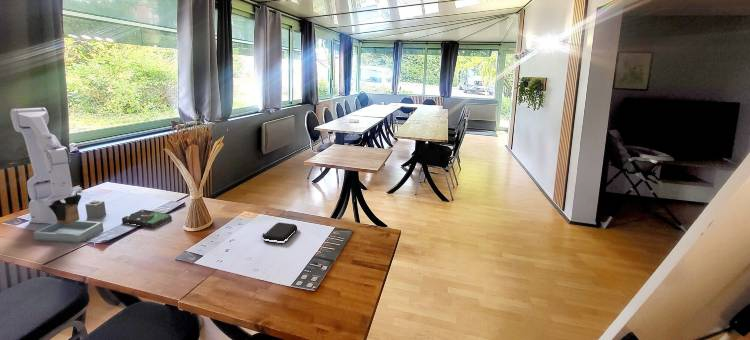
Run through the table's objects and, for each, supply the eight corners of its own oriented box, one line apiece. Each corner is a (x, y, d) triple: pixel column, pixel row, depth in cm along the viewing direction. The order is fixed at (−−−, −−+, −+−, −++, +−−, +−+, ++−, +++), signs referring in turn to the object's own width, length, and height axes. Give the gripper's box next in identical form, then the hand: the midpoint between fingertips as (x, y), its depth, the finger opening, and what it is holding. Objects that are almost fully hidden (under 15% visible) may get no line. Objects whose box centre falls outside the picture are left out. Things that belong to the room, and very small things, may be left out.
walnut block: (57, 223, 139) (54, 207, 137) (67, 218, 143) (65, 203, 142) (69, 224, 139) (66, 208, 137) (79, 219, 143) (76, 203, 141)
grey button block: (87, 218, 157) (85, 204, 155) (95, 213, 161) (93, 200, 159) (98, 218, 157) (96, 204, 155) (106, 214, 161) (104, 201, 159)
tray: (34, 240, 137) (33, 232, 136) (62, 226, 148) (61, 219, 148) (78, 243, 136) (77, 235, 136) (103, 229, 148) (102, 222, 147)
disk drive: (122, 224, 154) (153, 229, 151) (121, 218, 153) (152, 223, 150) (142, 215, 164) (172, 219, 161) (142, 209, 163) (171, 213, 160)
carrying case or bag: (274, 227, 159) (258, 242, 145) (274, 220, 159) (257, 235, 145) (299, 230, 158) (285, 246, 144) (299, 223, 157) (284, 238, 143)
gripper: (54, 189, 130) (61, 226, 133) (87, 176, 144) (93, 210, 147) (34, 187, 130) (41, 224, 134) (69, 175, 144) (75, 209, 148)
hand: (67, 217), depth 141 cm, fingers closed on walnut block, 4 cm apart
